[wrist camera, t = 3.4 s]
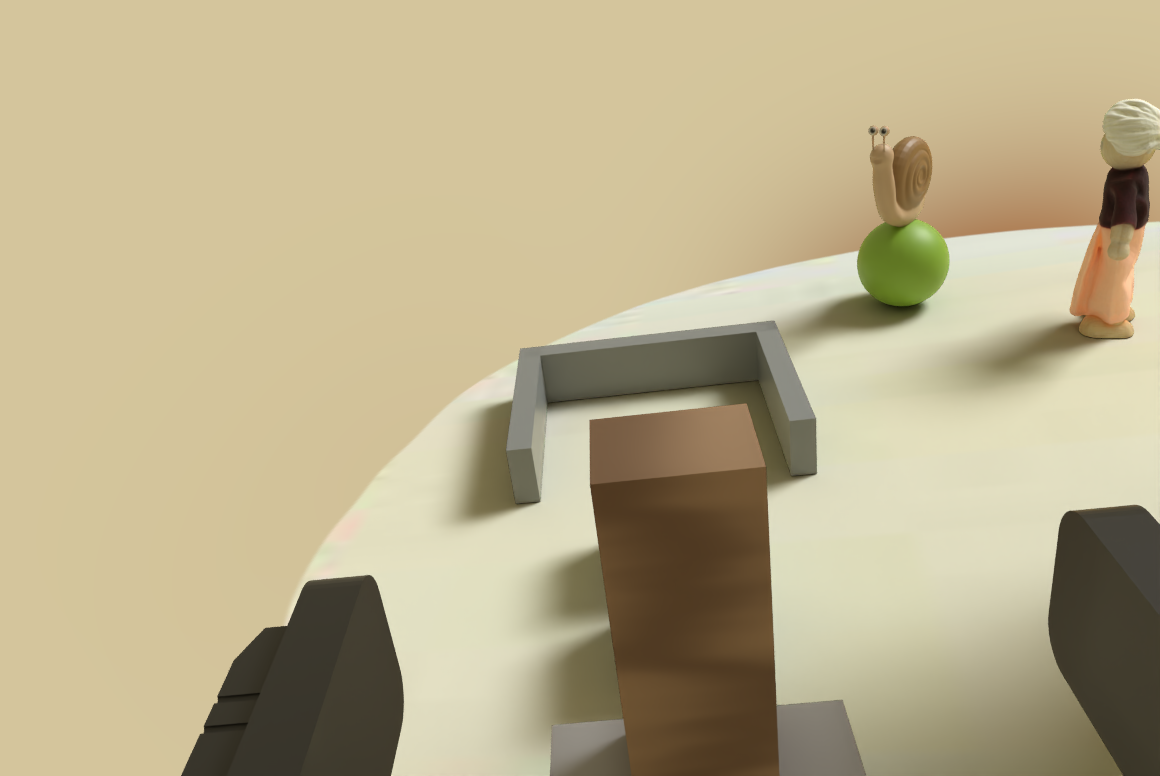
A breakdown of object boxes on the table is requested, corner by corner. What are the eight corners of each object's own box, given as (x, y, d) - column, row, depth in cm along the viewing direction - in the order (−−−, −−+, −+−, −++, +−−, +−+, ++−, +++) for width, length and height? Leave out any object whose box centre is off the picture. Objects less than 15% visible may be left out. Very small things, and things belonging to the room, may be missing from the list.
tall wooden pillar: (842, 768, 32) (841, 383, 25) (875, 881, 28) (884, 467, 22) (564, 791, 32) (494, 420, 26) (562, 905, 29) (479, 508, 22)
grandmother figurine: (1062, 299, 60) (1085, 86, 54) (1134, 300, 58) (1165, 81, 53) (1074, 355, 53) (1101, 121, 48) (1154, 357, 52) (1193, 117, 46)
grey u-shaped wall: (776, 368, 56) (774, 320, 55) (816, 473, 46) (816, 418, 45) (528, 395, 57) (520, 348, 56) (515, 503, 47) (506, 450, 46)
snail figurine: (833, 316, 62) (832, 124, 56) (881, 280, 66) (885, 98, 60) (916, 333, 58) (923, 130, 53) (961, 294, 62) (972, 102, 57)
